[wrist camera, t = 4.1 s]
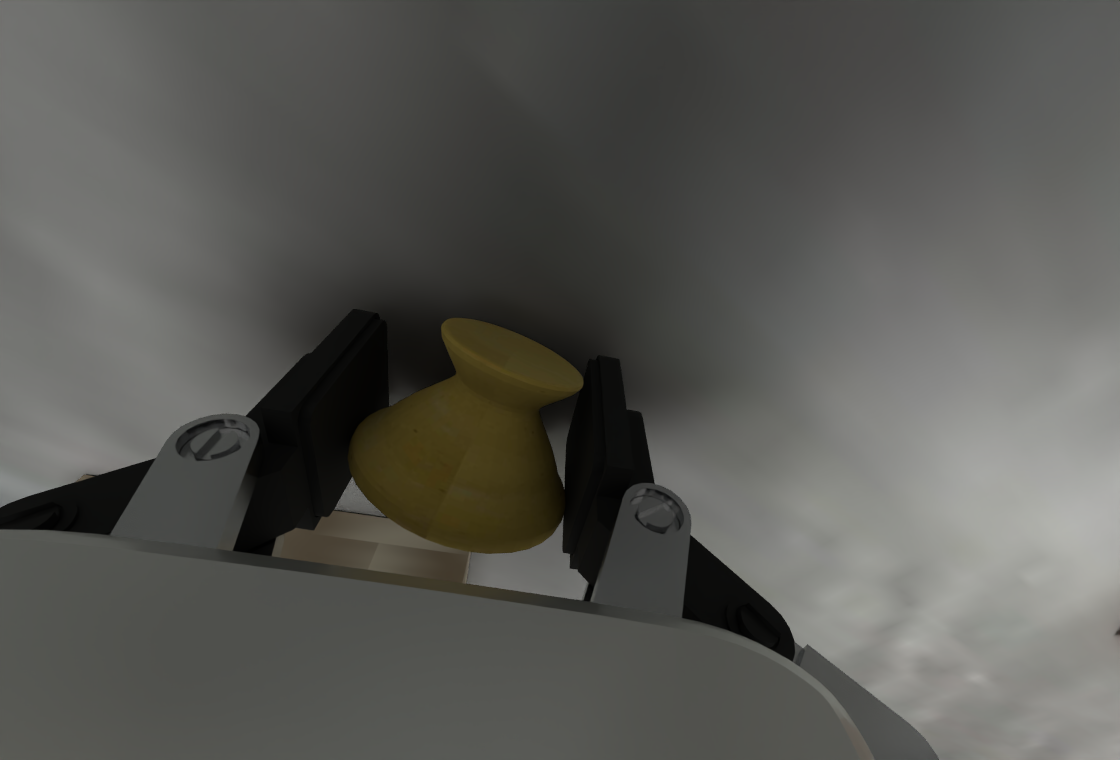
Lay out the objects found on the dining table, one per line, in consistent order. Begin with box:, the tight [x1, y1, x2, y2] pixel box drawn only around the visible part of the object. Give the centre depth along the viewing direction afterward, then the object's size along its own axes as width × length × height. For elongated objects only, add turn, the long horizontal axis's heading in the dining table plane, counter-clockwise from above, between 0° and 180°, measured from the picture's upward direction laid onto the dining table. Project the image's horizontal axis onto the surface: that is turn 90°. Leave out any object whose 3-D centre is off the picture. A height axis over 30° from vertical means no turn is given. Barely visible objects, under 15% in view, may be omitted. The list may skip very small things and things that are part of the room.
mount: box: [76, 475, 471, 584], centre depth 20 cm, size 13×21×4 cm, turn 169°
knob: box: [348, 318, 583, 554], centre depth 10 cm, size 5×5×5 cm
